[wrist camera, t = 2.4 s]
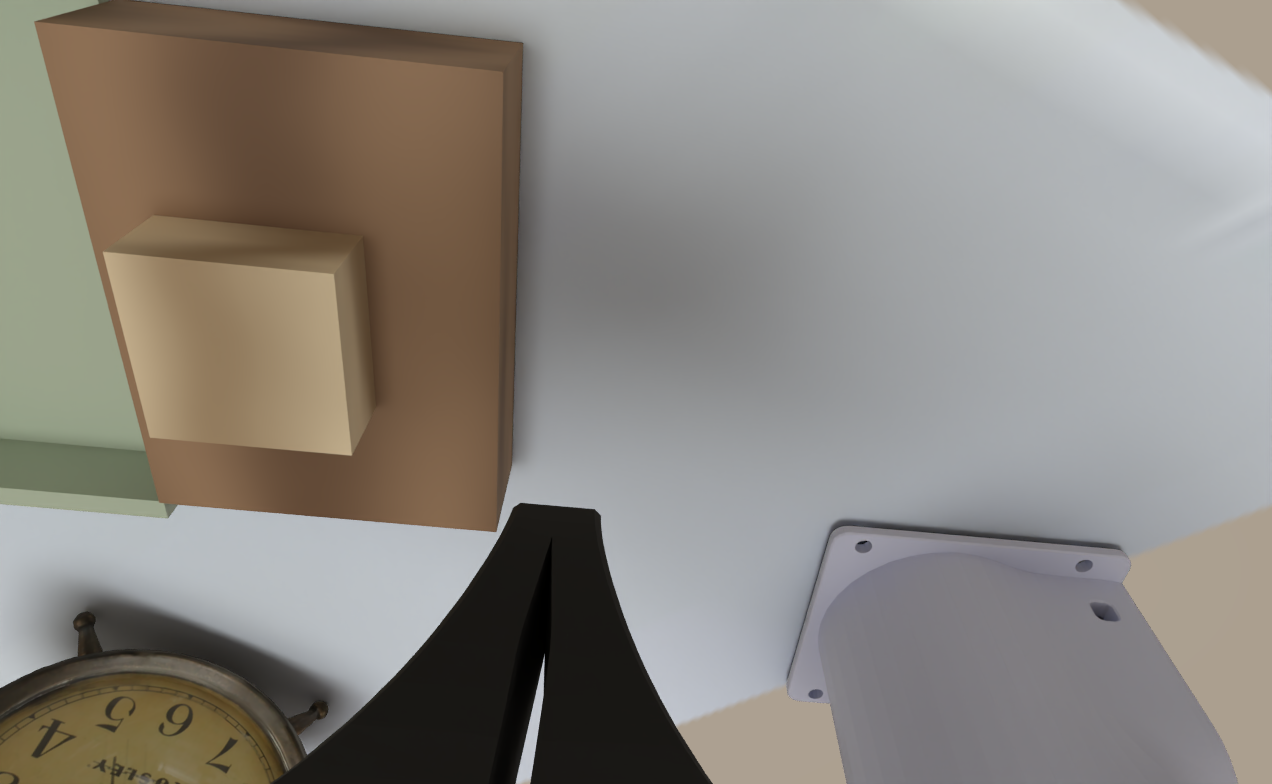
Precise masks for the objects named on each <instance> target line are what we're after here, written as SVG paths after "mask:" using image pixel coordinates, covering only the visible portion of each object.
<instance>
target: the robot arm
mask: <svg viewBox="0 0 1272 784" xmlns="http://www.w3.org/2000/svg"><path fill="white" fill-rule="evenodd" d="M865 540H866V541H868V542H866V543H864V544H860V545H859V544H857V543H858V542H860V541H865ZM1082 560H1085V561H1083V562H1081V563H1078V562H1080V561H1082ZM1130 567H1131V562H1130V560H1129V558H1128V557H1127V555H1126V554H1125V553H1124V552H1123V551H1121V550H1117V549H1107V548H1096V547H1085V546H1073V545H1062V544H1051V543H1039V542H1028V541H1016V540H1005V539H994V538H982V537H971V536H960V535H948V534H937V533H926V532H914V531H903V530H891V529H880V528H869V527H857V526H842V527H839V528H837V529H836V530H834V531H833V532H832V534H831V535H830V538H829V541H828V544H827V548H826V551H825V555H824V558H823V561H822V565H821V568H820V572H819V575H818V578H817V582H816V585H815V588H814V592H813V595H812V599H811V602H810V605H809V609H808V612H807V616H806V619H805V622H804V626H803V629H802V633H801V636H800V639H799V643H798V646H797V650H796V653H795V656H794V660H793V663H792V667H791V670H790V673H789V677H788V680H787V693H788V695H789V697H790V698H792V699H793V700H797V701H805V702H817V703H830V706H831V710H832V715H833V720H834V725H835V729H836V734H837V739H838V744H839V749H840V754H841V758H842V763H843V768H844V773H845V778H846V783H847V784H1238V782H1237V778H1236V775H1235V772H1234V769H1233V766H1232V763H1231V760H1230V757H1229V755H1228V753H1227V751H1226V749H1225V746H1224V744H1223V742H1222V740H1221V738H1220V736H1219V735H1218V733H1217V731H1216V730H1215V728H1214V726H1213V724H1212V723H1211V721H1210V720H1209V718H1208V716H1207V715H1206V713H1205V712H1204V710H1203V709H1202V707H1201V706H1200V704H1199V703H1198V701H1197V699H1196V698H1195V696H1194V695H1193V693H1192V692H1191V690H1190V689H1189V687H1188V685H1187V684H1186V682H1185V681H1184V679H1183V678H1182V676H1181V674H1180V673H1179V671H1178V670H1177V668H1176V667H1175V665H1174V664H1173V662H1172V660H1171V659H1170V657H1169V656H1168V654H1167V653H1166V651H1165V650H1164V648H1163V646H1162V645H1161V643H1160V642H1159V640H1158V639H1157V637H1156V635H1155V634H1154V632H1153V631H1152V630H1151V628H1150V626H1149V625H1148V623H1147V621H1146V620H1145V618H1144V617H1143V615H1142V614H1141V612H1140V611H1139V609H1138V607H1137V606H1136V604H1135V603H1134V601H1133V600H1132V598H1131V597H1130V595H1129V593H1128V592H1127V591H1126V589H1125V587H1124V586H1123V584H1122V582H1123V580H1124V579H1125V577H1126V575H1127V573H1128V572H1129V570H1130ZM544 654H545V666H544V697H543V704H542V710H541V717H540V724H539V731H538V738H537V744H536V751H535V757H534V764H533V770H532V777H531V783H530V784H713V783H712V782H711V781H710V779H709V778H708V776H707V775H706V774H705V772H704V771H703V769H702V767H701V766H700V764H699V763H698V761H697V759H696V758H695V756H694V755H693V753H692V752H691V750H690V749H689V747H688V745H687V744H686V742H685V740H684V739H683V737H682V736H681V734H680V733H679V731H678V729H677V728H676V726H675V724H674V723H673V721H672V719H671V717H670V715H669V714H668V712H667V710H666V708H665V706H664V704H663V703H662V701H661V699H660V697H659V695H658V693H657V691H656V689H655V687H654V685H653V683H652V681H651V679H650V677H649V675H648V673H647V671H646V669H645V667H644V664H643V662H642V660H641V658H640V655H639V653H638V651H637V648H636V646H635V643H634V641H633V639H632V636H631V634H630V631H629V629H628V626H627V623H626V621H625V618H624V615H623V613H622V610H621V607H620V603H619V600H618V597H617V594H616V591H615V588H614V585H613V582H612V578H611V575H610V571H609V567H608V563H607V559H606V555H605V550H604V545H603V539H602V531H601V515H600V514H599V513H598V512H597V511H596V510H595V509H584V508H573V507H561V506H550V505H538V504H527V503H520V504H518V505H517V506H515V507H514V508H513V510H512V512H511V515H510V517H509V519H508V521H507V523H506V525H505V527H504V529H503V531H502V533H501V535H500V537H499V539H498V540H497V542H496V544H495V546H494V547H493V549H492V551H491V552H490V554H489V556H488V557H487V559H486V560H485V562H484V564H483V565H482V567H481V568H480V569H479V571H478V572H477V574H476V575H475V577H474V578H473V580H472V581H471V583H470V584H469V586H468V587H467V589H466V590H465V592H464V593H463V595H462V596H461V597H460V599H459V600H458V601H457V603H456V604H455V605H454V607H453V608H452V609H451V610H450V612H449V613H448V614H447V616H446V617H445V618H444V619H443V621H442V622H441V623H440V625H439V626H438V627H437V629H436V630H435V631H434V632H433V634H432V635H431V636H430V637H429V638H428V639H427V641H426V642H425V643H424V644H423V645H422V647H421V648H420V649H419V650H418V651H417V652H416V653H415V655H414V656H413V657H412V658H411V659H410V660H409V661H408V662H407V663H406V664H405V665H404V667H403V668H402V669H401V670H400V671H399V672H398V673H397V674H396V675H395V676H394V677H393V678H392V679H391V680H390V681H389V682H388V683H387V684H386V685H385V686H384V687H383V688H382V689H381V690H380V691H379V692H378V693H377V694H376V695H375V696H374V697H373V698H372V699H371V700H370V701H369V702H368V703H367V704H366V705H365V706H364V707H363V708H362V709H361V710H360V711H358V712H357V713H356V714H355V715H354V716H353V717H352V718H351V719H350V720H349V721H348V722H346V723H345V724H344V725H343V726H342V727H340V728H339V729H338V730H337V731H336V732H335V733H333V734H332V735H331V736H330V737H329V738H327V739H326V740H325V741H324V742H323V743H321V744H320V745H319V746H318V747H317V748H315V749H314V750H313V751H312V752H311V753H310V754H308V755H307V756H306V757H305V758H304V759H302V760H301V761H300V762H299V763H297V764H296V765H295V766H293V767H292V768H291V769H290V770H288V771H287V772H286V773H284V774H283V775H281V776H280V777H279V778H277V779H276V780H274V781H273V782H272V783H270V784H516V778H517V774H518V769H519V765H520V760H521V756H522V752H523V747H524V743H525V739H526V734H527V730H528V725H529V721H530V717H531V712H532V708H533V703H534V699H535V695H536V690H537V686H538V681H539V677H540V672H541V668H542V663H543V659H544Z"/></svg>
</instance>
